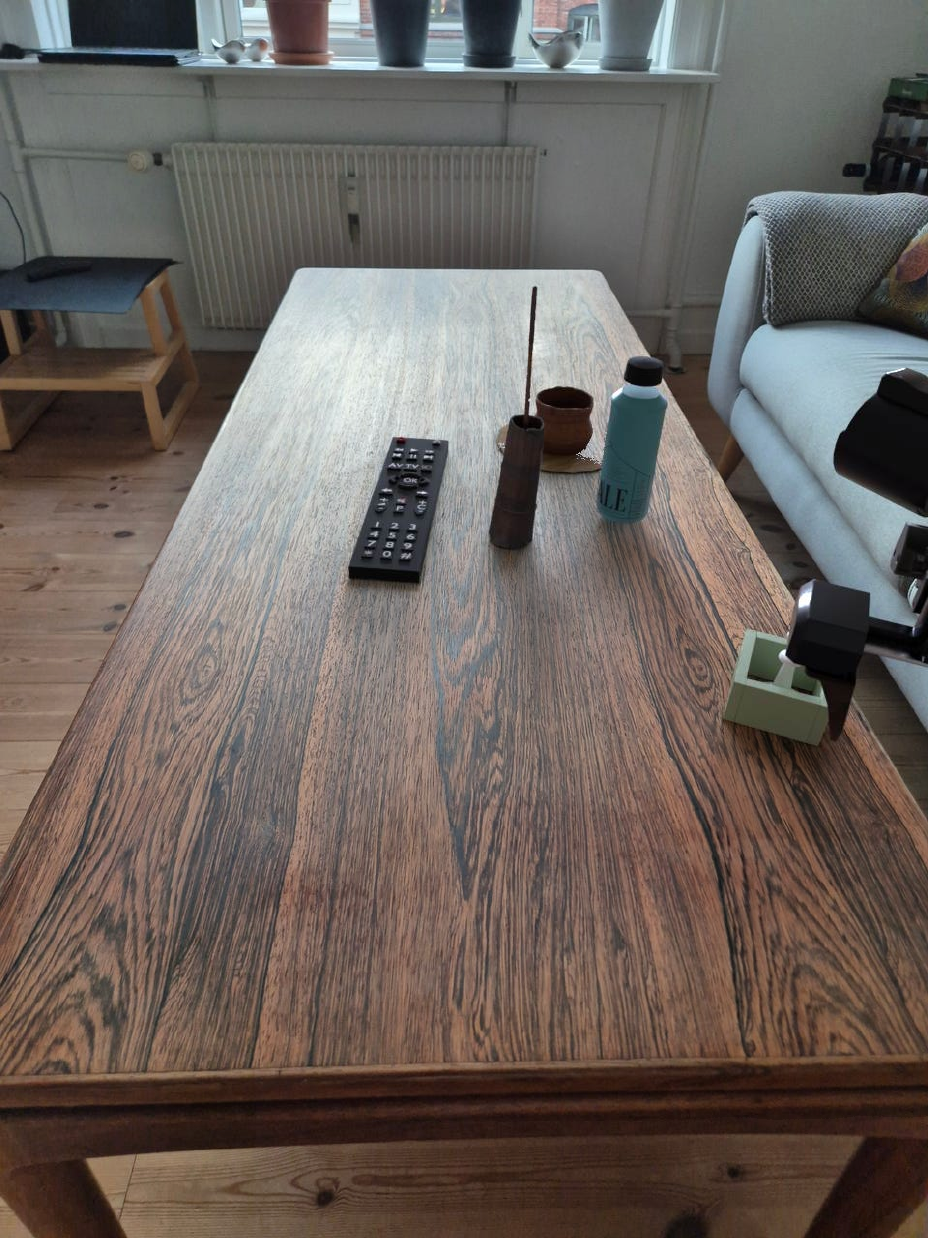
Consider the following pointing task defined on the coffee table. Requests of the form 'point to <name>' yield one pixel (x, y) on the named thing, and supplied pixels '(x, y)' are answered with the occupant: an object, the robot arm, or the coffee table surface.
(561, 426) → the ceramic pot
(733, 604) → the coffee table surface
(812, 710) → the open green box
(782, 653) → the chess piece
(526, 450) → the butter churn
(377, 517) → the remote control
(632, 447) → the beverage bottle
